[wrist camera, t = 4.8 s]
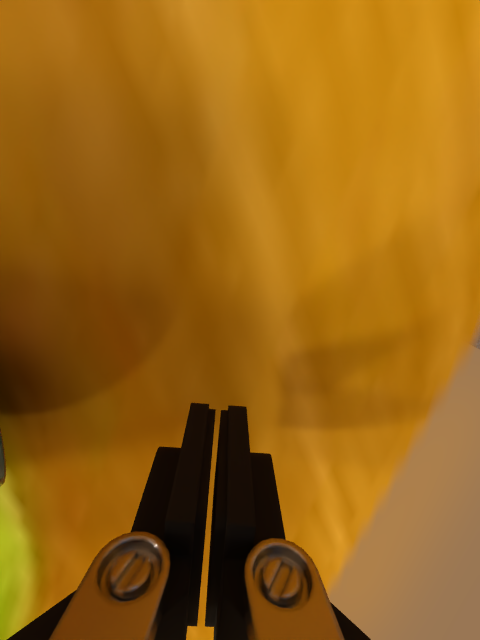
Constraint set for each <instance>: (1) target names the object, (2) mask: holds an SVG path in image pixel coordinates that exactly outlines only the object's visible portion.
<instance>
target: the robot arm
mask: <svg viewBox="0 0 480 640" xmlns="http://www.w3.org/2000/svg"><path fill="white" fill-rule="evenodd" d="M214 422H215V409H209V404H200V403H191V406H190V410H189V415H188V419H187V424H186V428H185V433H184V437H183V442H182V446H181V448H173V447H159V448H158V450H157V452H156V455H155V459H154V462H153V465H152V468H151V471H150V474H149V477H148V480H147V483H146V486H145V489H144V493H143V496H142V499H141V502H140V505H139V508H138V511H137V514H136V517H135V520H134V523H133V527H132V530H131V532H130V533H126V534H123V535H121V536H119V537H117V538H115V539H113V540H111V541H110V542H109V543H108V544H107V545H106V546H104V547H103V548H102V549H101V550H100V552H99V553H98V554H97V556H96V557H95V559H94V560H93V562H92V564H91V565H90V567H89V569H88V571H87V572H86V574H85V576H84V578H83V580H82V581H81V583H80V585H79V587H78V588H77V590H76V591H74V592H73V593H71V594H70V595H69V596H67V597H66V598H64V599H63V600H62V601H60V602H59V603H57V604H56V605H55V606H53V607H52V608H50V609H49V610H48V611H46V612H45V613H43V614H42V615H41V616H39V617H38V618H36V619H35V620H34V621H32V622H31V623H29V624H28V625H27V626H25V627H24V628H22V629H21V630H20V631H18V632H17V633H15V634H14V635H13V636H11V637H10V638H8V639H7V640H186V634H187V626H197V620H198V609H199V597H200V586H201V575H202V563H203V552H204V541H205V529H206V518H207V506H208V494H209V482H210V470H211V458H212V446H213V434H214ZM205 626H207V627H214V640H370V638H369V637H368V636H366V635H365V634H364V633H363V632H362V631H361V630H360V629H359V628H358V627H357V626H356V625H355V624H353V623H352V622H351V621H350V620H349V619H348V618H347V617H346V616H345V615H344V614H343V613H341V611H339V610H338V609H337V608H336V607H335V606H334V605H333V604H332V603H331V602H330V601H329V598H328V596H327V593H326V590H325V588H324V585H323V583H322V580H321V577H320V575H319V572H318V570H317V568H316V566H315V564H314V562H313V560H312V559H311V557H310V556H309V555H308V554H307V553H306V552H305V551H304V550H303V549H302V548H300V547H299V546H298V545H296V544H295V543H293V542H290V541H287V540H286V539H285V533H284V528H283V522H282V516H281V510H280V504H279V498H278V492H277V486H276V481H275V475H274V469H273V463H272V458H271V455H270V454H265V453H250V445H249V433H248V421H247V409H246V407H241V406H228V410H221V417H220V428H219V439H218V449H217V460H216V471H215V482H214V494H213V509H212V525H211V540H210V555H209V571H208V586H207V601H206V617H205Z"/></svg>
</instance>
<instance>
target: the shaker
mask: <svg viewBox="0 0 480 640" xmlns="http://www.w3.org/2000/svg"><path fill="white" fill-rule="evenodd" d="M5 477H6V461H5V452H4V445H3V439H2V434H1V429H0V486H2V485H3V484H4V482H5Z"/></svg>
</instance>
